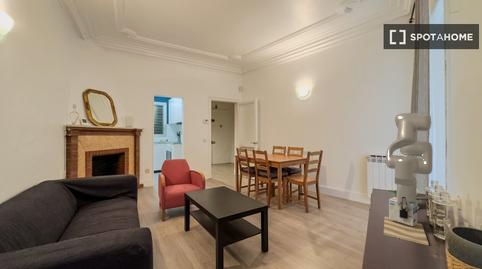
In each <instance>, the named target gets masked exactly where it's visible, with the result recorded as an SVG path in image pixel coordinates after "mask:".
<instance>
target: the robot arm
mask: <svg viewBox="0 0 482 269" xmlns="http://www.w3.org/2000/svg"><path fill="white" fill-rule="evenodd" d="M394 122H395V123H394V124H395V125H396V127H397V137H396V140H394V141H393V142H392V143H391V144H390V145H389V146H388V147H387V150H386V155H385V165H386V167H387V168H388V169H394V185H396V190H397V196H396V195H395V197H396V200H397V204H400V215H399V217H400V218H405V219H407V218H408V211H407V206H408V205H409V201H413V202H417V203H418V204H417V210H419V209H420V206H419V204H422V203H423V201H422V200H421V199H417V186H418V185H417V183H418V182H417V181H418V180H417V179H416V177H415V176H414V174H418V175H419V174H421V175H430V174H431V173H432V172H433V153H434V152H433V145H432V143H431V142H429V141H426V140H422V141H421V140H418V139H417V137H418V133H417V132H427V131H429V130H430V129H431V127H432V116H431V114H430V113H428V112H407V113H405V112H404V113H399V114H396V115H395V117H394ZM397 150H399V152H400V154H402V155H395V154H393V153H394V152H395V151H397ZM419 157H421V158H419ZM401 203H403V204H401Z"/></svg>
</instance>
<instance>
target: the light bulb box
mask: <svg viewBox="0 0 482 269" xmlns="http://www.w3.org/2000/svg"><path fill="white" fill-rule="evenodd" d="M401 204H403V203H401ZM417 205H419V203H417V202H413V201H409V205H408V206H407V211H408V218H407V219H405V218H400V217H399V215H400V204H397V200H396V196H394V197H391V198H389V199H388V217H389V219H391V220H395V221H398V222H401V223H404V224H408V225H411V226H413V225H415V224H416V223H418V209H417Z"/></svg>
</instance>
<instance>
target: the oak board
mask: <svg viewBox="0 0 482 269" xmlns="http://www.w3.org/2000/svg"><path fill="white" fill-rule="evenodd" d="M383 220H384V221H383V236H386V237H392V238H395V237H396V239H399V238H400V240H404V241H408V242H412V243H417V244H420V245H421V244H422V245H426V246H429V242H428V241H429V240H428V239H427V234H426V232H425V230H424V226H423V224H422V223H418V222H417V223H416V224H415V225H413V226H411V225H408V224H404V223H401V222H398V221H395V220H391V219H389V216H384V218H383Z"/></svg>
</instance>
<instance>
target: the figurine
mask: <svg viewBox="0 0 482 269" xmlns="http://www.w3.org/2000/svg"><path fill="white" fill-rule="evenodd" d="M387 191H388V192H389V193H390V192H391V193H394V194H395V197H396V196H397V189H394V190H391V189H388V190H387Z"/></svg>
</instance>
